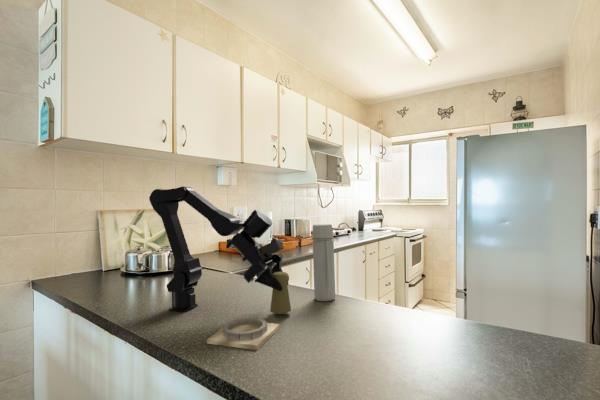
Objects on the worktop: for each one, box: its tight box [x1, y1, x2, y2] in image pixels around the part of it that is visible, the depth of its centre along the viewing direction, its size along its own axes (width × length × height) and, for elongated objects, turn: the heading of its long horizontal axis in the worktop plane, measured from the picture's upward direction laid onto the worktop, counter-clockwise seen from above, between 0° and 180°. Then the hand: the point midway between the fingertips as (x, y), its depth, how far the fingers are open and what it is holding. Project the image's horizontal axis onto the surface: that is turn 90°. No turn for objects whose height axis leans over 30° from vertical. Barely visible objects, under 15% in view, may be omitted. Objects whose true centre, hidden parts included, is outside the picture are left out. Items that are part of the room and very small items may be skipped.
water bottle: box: [311, 223, 336, 302], centre depth 104 cm, size 9×8×25 cm
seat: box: [206, 316, 281, 351], centre depth 76 cm, size 13×13×2 cm
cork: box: [269, 271, 292, 315], centre depth 91 cm, size 6×6×11 cm
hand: (284, 287), depth 90 cm, fingers closed on cork, 5 cm apart
